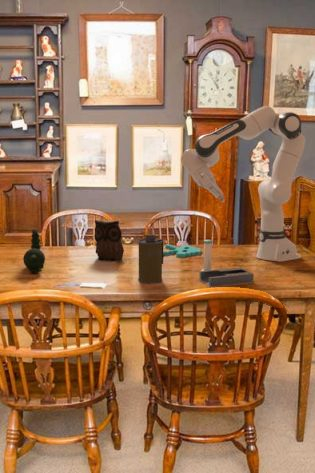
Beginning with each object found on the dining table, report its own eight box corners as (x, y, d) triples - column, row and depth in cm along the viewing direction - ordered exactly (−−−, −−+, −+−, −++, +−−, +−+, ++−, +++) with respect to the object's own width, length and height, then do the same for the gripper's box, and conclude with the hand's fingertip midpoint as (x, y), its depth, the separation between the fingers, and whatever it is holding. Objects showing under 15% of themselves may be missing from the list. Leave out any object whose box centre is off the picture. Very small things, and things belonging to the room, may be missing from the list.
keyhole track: (240, 275, 226) (240, 266, 226) (253, 283, 215) (254, 274, 214) (198, 279, 220) (199, 270, 219) (210, 287, 209) (210, 278, 208)
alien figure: (159, 256, 260) (198, 259, 256) (159, 252, 260) (198, 254, 256) (166, 248, 280) (202, 250, 276) (166, 244, 279) (202, 246, 275)
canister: (143, 284, 212) (143, 238, 208) (134, 278, 222) (134, 233, 218) (167, 281, 217) (167, 235, 212) (157, 275, 226) (157, 231, 222)
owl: (124, 261, 250) (124, 221, 246) (100, 263, 245) (99, 222, 241) (116, 255, 262) (116, 216, 257) (92, 257, 257) (92, 218, 253)
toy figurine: (26, 267, 245) (22, 277, 221) (25, 228, 243) (20, 233, 219) (46, 266, 247) (44, 276, 222) (45, 227, 245) (43, 233, 220)
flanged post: (210, 270, 234) (210, 239, 231) (215, 273, 229) (216, 241, 226) (199, 271, 233) (199, 239, 229) (204, 274, 227) (204, 242, 224)
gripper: (202, 166, 231) (220, 187, 226) (215, 179, 250) (231, 199, 244) (191, 175, 232) (209, 196, 227) (205, 187, 251) (221, 208, 245)
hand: (220, 198), depth 236 cm, fingers open, 8 cm apart
